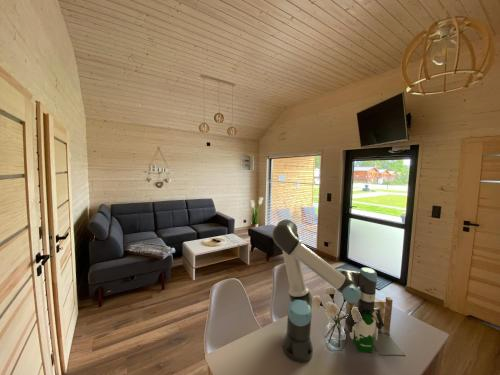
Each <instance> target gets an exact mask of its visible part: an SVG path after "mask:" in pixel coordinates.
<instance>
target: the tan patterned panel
mask: <svg viewBox="0 0 500 375" xmlns="http://www.w3.org/2000/svg"><path fill="white" fill-rule="evenodd" d="M384 301H385V310H384V321H383V324H384V327H383V331H384V333H385V334H390V331H391V321H392V311H393V310H392V309H393V299H392V298H391V297H390V296H385V300H384ZM345 306H346V307H345V308H346V309H345V315H346V314H349V313H350V311H351V307H352V306H353V303H349V302H347V301H346V305H345ZM345 318H346V317H345ZM345 318H344V319H345ZM346 319H347V318H346ZM346 319H345V320H344V329H345V331H346V332H347V333H350V331H349V326H348V325H347V324H346V322H345V321H346Z"/></svg>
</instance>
